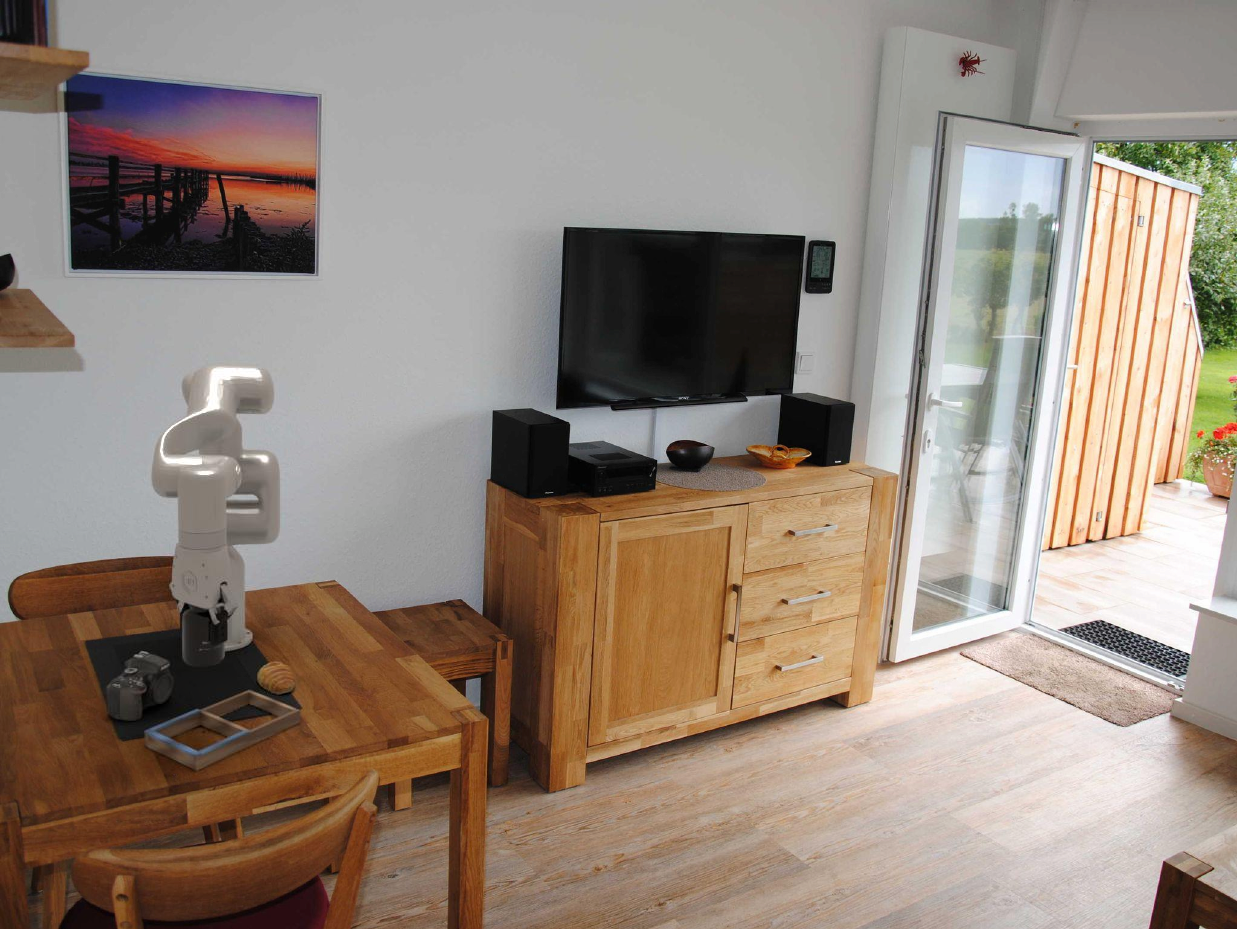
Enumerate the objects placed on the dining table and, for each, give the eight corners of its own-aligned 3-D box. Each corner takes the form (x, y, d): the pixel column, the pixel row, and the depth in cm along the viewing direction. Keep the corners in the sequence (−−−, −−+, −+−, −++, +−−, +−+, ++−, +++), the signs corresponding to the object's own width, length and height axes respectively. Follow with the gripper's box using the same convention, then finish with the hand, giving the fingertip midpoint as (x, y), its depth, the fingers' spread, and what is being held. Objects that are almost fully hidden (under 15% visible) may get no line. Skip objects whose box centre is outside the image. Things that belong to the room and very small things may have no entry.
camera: (161, 722, 189) (159, 671, 187) (102, 722, 188) (101, 670, 185) (180, 690, 202) (179, 642, 200) (126, 690, 200) (124, 641, 198)
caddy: (144, 746, 180) (143, 730, 180) (249, 701, 199) (248, 687, 199) (197, 771, 174) (196, 755, 173) (300, 722, 193) (300, 708, 192)
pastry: (303, 692, 205) (303, 674, 204) (268, 699, 201) (268, 681, 201) (287, 674, 213) (287, 657, 212) (253, 681, 209) (253, 663, 208)
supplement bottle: (210, 670, 176) (210, 603, 173) (174, 664, 177) (173, 597, 174) (233, 655, 182) (232, 590, 180) (197, 649, 183) (196, 585, 181)
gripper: (149, 532, 176) (151, 631, 179) (219, 553, 167) (220, 657, 171) (187, 523, 182) (188, 619, 186) (256, 543, 174) (256, 643, 178)
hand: (203, 636), depth 179 cm, fingers closed on supplement bottle, 6 cm apart
